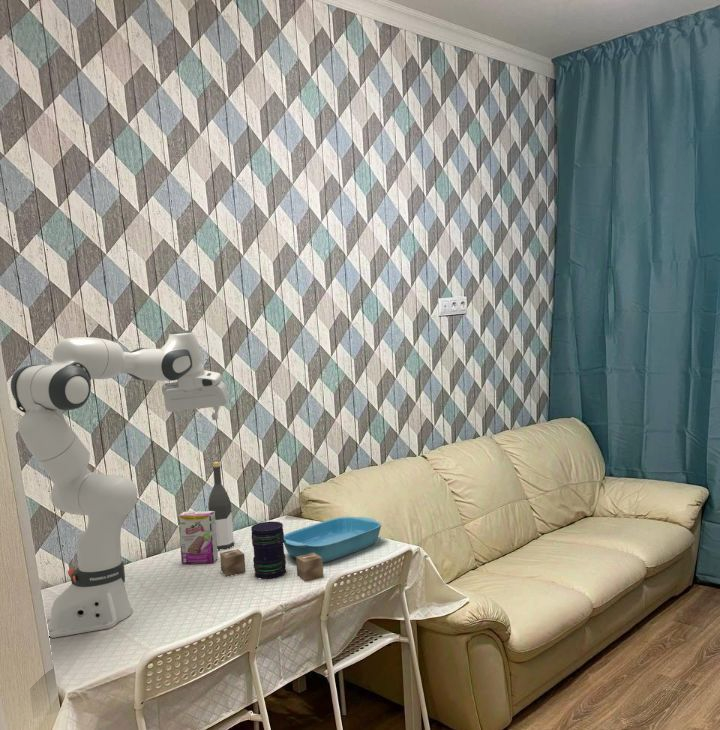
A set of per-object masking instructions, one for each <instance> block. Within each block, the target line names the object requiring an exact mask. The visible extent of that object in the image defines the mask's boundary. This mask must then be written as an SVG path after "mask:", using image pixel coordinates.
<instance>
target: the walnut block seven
mask: <svg viewBox="0 0 720 730" xmlns="http://www.w3.org/2000/svg"><path fill="white" fill-rule="evenodd" d="M219 558H220V559H219V561H220V571H222V572H223V573H224V574H225V575H224V574H223V573H222V572H221V573H222V574H223V575H224V576H225V577H227V576H229V577H232V576H231V575H233V576H236V575H235V574H237V575H241V573H242V574H245V573H244V572H246V559H245V553H243V552H242V550H240V548H239V549H238V548H237V549H233V550H232V549H231V550H228V551H224V552H219Z"/></svg>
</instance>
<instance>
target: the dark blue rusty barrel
mask: <svg viewBox="0 0 720 730" xmlns="http://www.w3.org/2000/svg"><path fill="white" fill-rule="evenodd" d="M283 528H284V524H283V523H282V522H280V521H264V522H259V523H258V522H257V523H255V524H253V525H252V526H251V527H250V530H251V544H252V548H253V560H252V561H253V569H254V570H253V571H254V577H255V578H256V577H257V578H256V579H258V578H261V579H260V580H274V579H273V578H275V579H278V577H279V578H281V577H284V576H285V575H286V574H287V567H286V566H287V565H286V564H287V561H286V554H285V545H284V535H285V533H284V529H283ZM285 573H286V574H285ZM284 574H285V575H284Z"/></svg>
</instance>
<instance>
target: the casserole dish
mask: <svg viewBox="0 0 720 730" xmlns="http://www.w3.org/2000/svg"><path fill="white" fill-rule="evenodd" d="M381 528H382V522H380V521H377V520H376V519H375V518H371V517H365V516H340V517H339V516H338V517H335V518H330V519H327V520H324V521H321V522H319V523H315V524H311V525H308V526H305V527H302V528H298V529H296V530H293V531H290V532H288V533H286V534H285V533H284V543H283V545H284V549H285V550H286V552H287V553H288V554H289V555H290V556H291V557H293V558H294V559H296V557H297V556H301V555H306V554H310V553H315V554H317V555H319V556H320V557H322V562H323V564H324V563H327V562H331V561H334V560H337V559H341V558H343V557H345V556H347V555H351V554H353V553H356V552H359V551H361V550H363V549H366V548H369V547H371V546H372V545H374V544H375V543H376V542H377V540H378V538H379V535H380V531H381Z"/></svg>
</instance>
